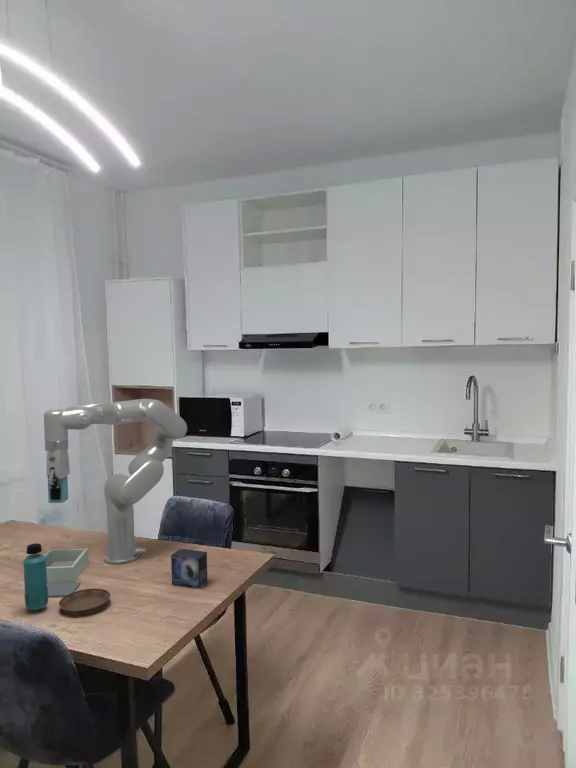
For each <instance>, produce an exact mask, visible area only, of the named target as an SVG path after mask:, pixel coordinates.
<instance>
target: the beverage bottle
mask: <svg viewBox="0 0 576 768" xmlns="http://www.w3.org/2000/svg"><path fill="white" fill-rule="evenodd" d="M42 550H43V549H42V544H41V543H36V542H35V543H31V544H28V545H27V546H26V554H28V555H27V556H26V557H25V558H24V559H23V560H22V561H23V582H24V584H23V585H24V592H23V593H24V595H23V597H24V604H25V605H24V606H25V608H26V609H27V610H31V611H32V610H39V609H42V608H44V607H46V606H47V605H48V603H49V598H48V591H47V588H48V587H47V586H48V585H49V584H48V582H47V580H48V579H47V573H46V557H45V556H44V554H41V552H42Z"/></svg>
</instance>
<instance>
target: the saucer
mask: <svg viewBox="0 0 576 768" xmlns="http://www.w3.org/2000/svg"><path fill="white" fill-rule="evenodd" d="M110 598H111V593H110V591H108V590H107V589H104V588H86V589H80V590H76V591H75V592H73V593H70V594H68V595H66V596H65V597H61V599H60V600H59V603H58V606H59V608H61V610H62V611H64V612H65V613H66V614H69V615H73V616H83V615H84V616H85V615H89V614H92V613H95V612H97V611H99V610H101V609H103V607H104V606H105V605H106V604H107V603H108V602H109V600H110Z"/></svg>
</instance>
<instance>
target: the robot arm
mask: <svg viewBox="0 0 576 768" xmlns="http://www.w3.org/2000/svg"><path fill="white" fill-rule="evenodd" d="M139 422H152V423H153V439H152V440H151V442H150V443H149V445H147V446H146V447H145V448H144V449H143V450H142V451H141V452H140V453H138V454H137V456H135V457H134V458H133V459H132V460H131V461H130V463H129V465H128V469H127V471H128V473H129V475H130V476H129V475H125V474H123V473H122V474H121V473H116V474H112V475H110V476H109V477H108V478H107V479H106V481H105V483H104V490H103V491H104V497H105V498H104V499H105V503H106V504H105V505H106V515H107V516H106V521H107V522H106V523H107V524H106V525H107V526H106V527H107V528H106V529H107V553H106V554H104V556H103V561H104V562H106V563H107V564H114V565H117V564H118V565H121V564H127V563H130V562H133V561H136V560H137V559H138V558H139V557H140V554H146V553H147V547H144V546H137V542H135V524H134V523H135V519H134V517H135V515H134V512H135V511H134V504H136V503H138V502H139V501H141V499H142V498H144V497H146V495H147V494H148V493H149V492H150V491H152V489H153V488H154V487H156V486H157V484H158V483H159V482H160V481H161V479H162V478H163V476H164V473H165V472H164V471H165V470H164V465H163V462H164V461H165V460H166V459H168V457H169V456H170V454H171V452H172V449H173V444H174V440H180V439H182V438H183V437H185V436H186V433H187V431H188V425H187V423H186V421H185V420H184V419H183V418H182V417H181V416H180V415H179V414H178V413H176V412H175V411H174V410H172V409H171V408H170V407H169V406H168V405H167V404H165V403H164V402H162V401H161V400H158V399H153V398H140V399H129V400H120V401H110V402H104V403H103V402H102V403H93V404H92V403H91V404H83V405H82V404H80V405H73V406H69V407H66V408H65V409H49V410H45V412H44V413H43V426H44V427H43V428H44V432H43V434H44V450H45V452H46V478H47V480H49V483H50V494H51V500H60V499H61V491H60V488H59V483H60V480H62V479H63V478H65V477H66V476H67V477H68V476H69V475H70V474H71V471H70V470H71V468H70V457H69V451H68V450H69V430H77V431H78V430H79V431H80V430H86V429H88V428H90V426H91V425H98V424H99V425H110V426H115V425H116V426H117V425H119V426H120V425H124V424H130V423H131V424H132V423H139ZM54 477H57V478H58V479H54ZM54 481H57V483H56V482H54Z"/></svg>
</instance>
